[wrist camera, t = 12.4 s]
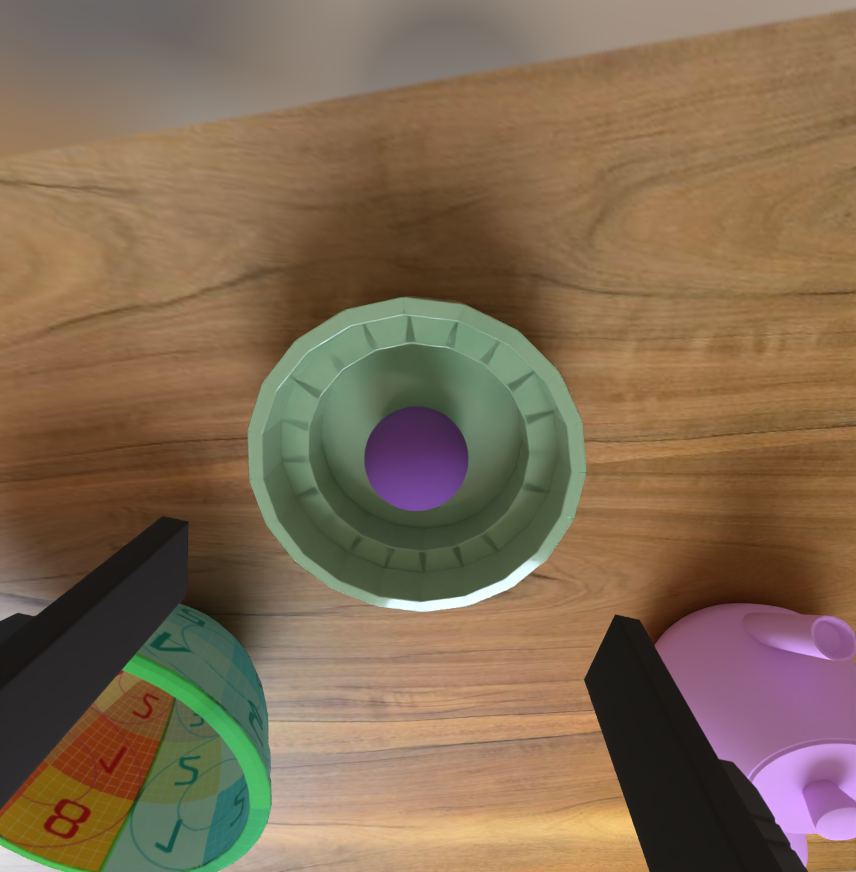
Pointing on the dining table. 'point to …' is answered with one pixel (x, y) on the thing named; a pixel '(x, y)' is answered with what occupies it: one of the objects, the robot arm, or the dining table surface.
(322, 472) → the green bowl
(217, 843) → the bowl
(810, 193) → the dining table surface
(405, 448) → the ball
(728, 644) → the teapot
